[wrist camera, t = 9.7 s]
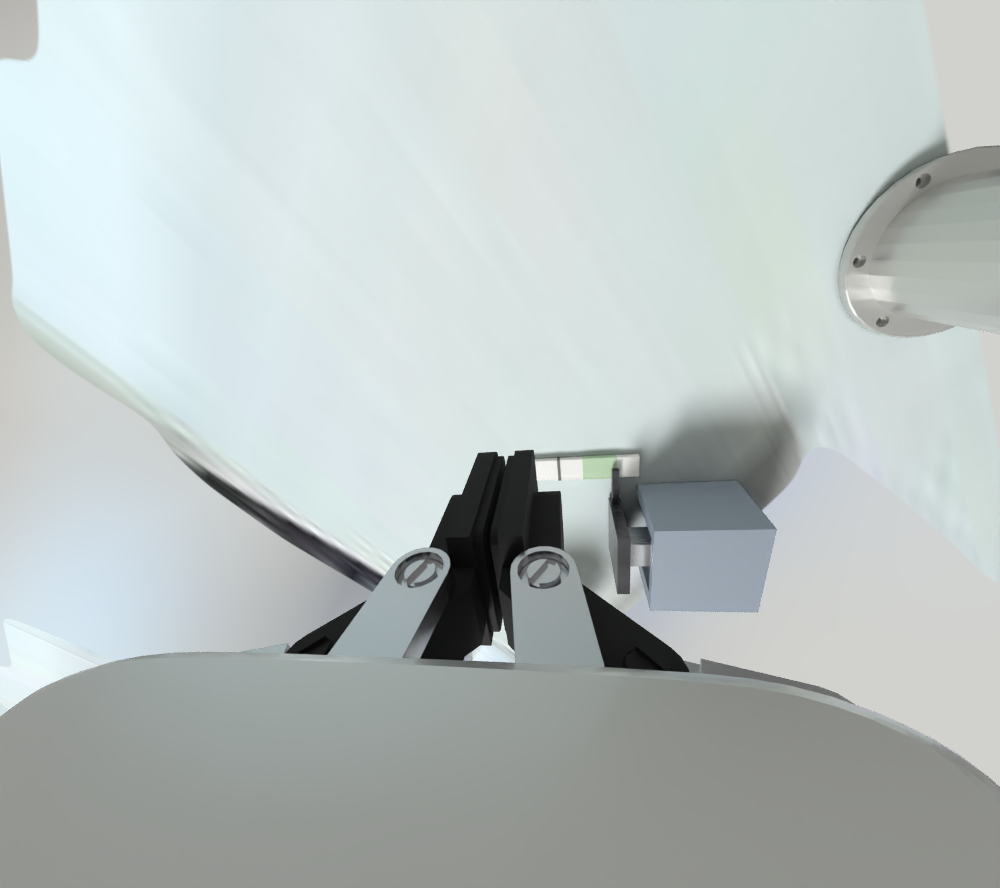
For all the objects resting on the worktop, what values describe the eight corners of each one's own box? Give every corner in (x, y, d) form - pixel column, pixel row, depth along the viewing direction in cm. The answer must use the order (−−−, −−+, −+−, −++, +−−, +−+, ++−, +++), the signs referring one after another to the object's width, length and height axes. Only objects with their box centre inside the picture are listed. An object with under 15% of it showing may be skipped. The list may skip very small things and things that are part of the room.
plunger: (711, 461, 39) (741, 500, 33) (701, 546, 44) (725, 595, 37) (608, 465, 41) (617, 503, 34) (609, 547, 45) (617, 593, 39)
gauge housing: (742, 448, 38) (785, 492, 31) (725, 554, 44) (758, 612, 37) (533, 458, 42) (528, 500, 35) (543, 555, 48) (541, 608, 41)
